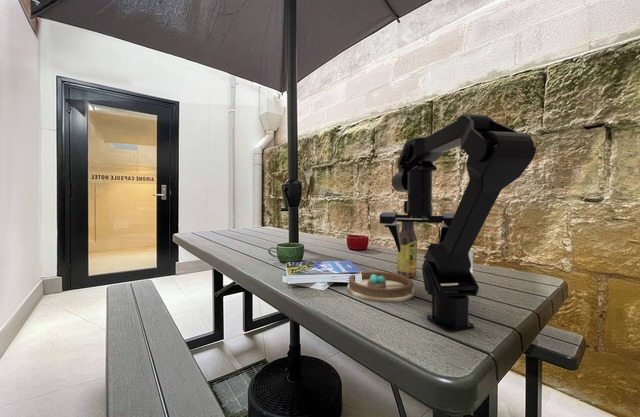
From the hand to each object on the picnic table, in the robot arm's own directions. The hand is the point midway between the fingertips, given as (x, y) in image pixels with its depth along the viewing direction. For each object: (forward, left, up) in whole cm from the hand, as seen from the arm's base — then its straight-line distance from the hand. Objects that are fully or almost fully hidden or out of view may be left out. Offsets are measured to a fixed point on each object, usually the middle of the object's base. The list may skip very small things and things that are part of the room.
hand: (418, 253), depth 68 cm
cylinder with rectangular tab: (+4, -15, -12) cm, 19 cm away
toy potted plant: (+6, +8, -11) cm, 15 cm away
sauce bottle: (+20, -11, -12) cm, 25 cm away
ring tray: (+10, +5, -12) cm, 16 cm away
